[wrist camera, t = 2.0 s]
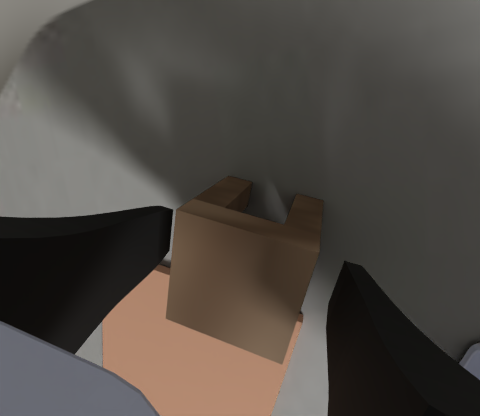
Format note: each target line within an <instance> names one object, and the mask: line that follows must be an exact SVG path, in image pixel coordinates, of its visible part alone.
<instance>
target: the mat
mask: <svg viewBox="0 0 480 416" xmlns="http://www.w3.org/2000/svg"><path fill="white" fill-rule="evenodd" d="M169 278H170V268H168V267H165V266H162V265H160V264H159V265H158V266H157V267H156V268H155V269H154V270H153V271H152V272H151V273H150V274H149V275H148V276H147V277H146V278H145V279H144V280H143V281H142V282H140V283H139V284H138V285H137V286H136V287H135V288H134V289H133V290H132V291H131V292H130V293H129V294H128V295H127V296H125V297H124V298H123V299H122V300H121V301H120V302H119V303H118V304H117V305H116V306H115V307H114V308H113V309H112V310H111V311H110V312H109V314H108V315H107V316H106V317H105V318H104V319H103V368H105V369H107V370H109V371H112V372H114V373H115V374H117V375H118V376H120V377H121V378H123V379H124V380H126V381H127V382H129V383H130V384H132V385H133V386H135V387H136V388H138V389H139V390H141V392H142V393H143V394H144V395H145V397H146V398H147V399H148V401H149V402H150V403H151V404H152V406H153V407H154V408H155V410H156V411H157V412H158V413H159V414H160V415H162V416H271V414H272V411H273V408H274V405H275V402H276V399H277V396H278V393H279V390H280V387H281V384H282V381H283V378H284V376H285V373H286V370H287V367H288V364H289V361H290V358H291V355H292V352H293V349H294V346H295V343H296V340H297V337H298V335H299V332H300V329H301V326H302V323H303V315H302V314H299V316H298V319H297V322H296V325H295V328H294V331H293V334H292V337H291V340H290V343H289V346H288V349H287V352H286V355H285V358H284V361H283V364H282V365H281V364H279V363H276V362H274V361H271V360H269V359H266V358H264V357H261V356H259V355H256V354H253V353H251V352H248V351H246V350H243V349H241V348H238V347H236V346H233V345H231V344H228V343H226V342H223V341H221V340H218V339H216V338H213V337H210V336H208V335H205V334H203V333H200V332H198V331H195V330H193V329H190V328H188V327H185V326H183V325H180V324H178V323H175V322H173V321H170V320H168V319H166V309H167V299H168V288H169Z"/></svg>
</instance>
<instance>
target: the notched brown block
mask: <svg viewBox="0 0 480 416" xmlns="http://www.w3.org/2000/svg"><path fill="white" fill-rule="evenodd" d="M251 187H252V182H250V181H246V180H243V179H239V178H235V177H231V176H227V177H226V178H224V179H223V180H221V181H220V182H218V183H217V184H215V185H214V186H212V187H210V188H209V189H207V190H206V191H204V192H203V193H201V194H200V195H198V196H197V197H195V198H193V199H192V200H190V201H189V202H187V203H186V204H184V205H183V206H181V207H179V208H178V209H176V217H175V227H174V238H173V248H172V258H171V268H170V278H169V288H168V299H167V309H166V319H168V320H170V321H173V322H175V323H178V324H180V325H183V326H185V327H188V328H190V329H193V330H195V331H198V332H200V333H203V334H205V335H208V336H210V337H213V338H216V339H218V340H221V341H223V342H226V343H228V344H231V345H233V346H236V347H238V348H241V349H243V350H246V351H248V352H251V353H253V354H256V355H259V356H261V357H264V358H266V359H269V360H271V361H274V362H276V363H279V364H281V365H282V364H283V361H284V358H285V355H286V352H287V349H288V346H289V343H290V340H291V337H292V334H293V331H294V328H295V325H296V322H297V319H298V316H299V313H300V310H301V307H302V304H303V301H304V298H305V295H306V292H307V289H308V286H309V283H310V280H311V277H312V273H313V270H314V267H315V264H316V261H317V258H318V255H319V251H320V238H321V226H322V213H323V200H319V199H316V198H312V197H308V196H304V195H300V194H296V197H295V199H294V202H293V204H292V207H291V209H290V212H289V214H288V216H287V219H286V221H285V224H284V225H283V224H280V223H276V222H273V221H269V220H266V219H262V218H259V217H255V216H252V215H248V214H245V213H242V212H243V210H244V209H245V208H246V207H247V206H248V202H249V197H250V192H251Z"/></svg>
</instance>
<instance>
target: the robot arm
mask: <svg viewBox="0 0 480 416" xmlns="http://www.w3.org/2000/svg"><path fill="white" fill-rule="evenodd" d="M172 216H173V209H169V208H166V207H163V206H149V207H142V208H136V209H130V210H123V211H117V212H110V213H103V214H95V215H87V216H76V217H60V218H17V217H0V416H160V415H159V413H158V412H157V411H156V410H155V408H154V407H153V406H152V404H151V403H150V402H149V401H148V399H147V398H146V397H145V395H144V394H143V393H142V392H141V390H139V389H138V388H136V387H135V386H133V385H132V384H130V383H129V382H127V381H126V380H124V379H123V378H121V377H120V376H118V375H117V374H115V373H114V372H112V371H109V370H107V369H105V368H103V367H101V366H98V365H96V364H94V363H92V362H90V361H87V360H85V359H83V358H81V357H79V356H76V355H75V353H76V352H77V351H78V350H79V348H80V347H81V346H82V345H83V343H84V342H85V341H86V340H87V338H88V337H89V336H90V335H91V334H92V332H93V331H94V330H95V329H96V328H97V326H98V325H99V324H100V323H101V322H102V321H103V319H104V318H105V317H106V316H107V315H108V314H109V312H110V311H111V310H112V309H113V308H114V307H115V306H116V305H117V304H118V303H119V302H120V301H121V300H122V299H123V298H124V297H125V296H127V295H128V294H129V293H130V292H131V291H132V290H133V289H134V288H135V287H136V286H137V285H138V284H139V283H140V282H142V281H143V280H144V279H145V278H146V277H147V276H148V275H149V274H150V273H151V272H152V271H153V270H154V269H155V268H156V267H157V266H158V265H159V263H160V262H161V261H162V260H163V258H164V257H165V256H166V254H167V253H168V252H169V249H170V238H171V227H172ZM326 335H327V359H328V381H329V401H328V416H480V343H477V344H474V345H472V346H471V347H470V348H469V349H468V351H467V352H466V354H465V355H464V357H463V358H462V360H461V361H460V363H459V364H458V363H457V362H456V361H455V360H453V359H452V358H451V357H450V356H448V355H447V354H446V353H445V352H444V351H442V350H441V349H440V348H439V347H438V346H436V345H435V344H434V343H433V342H432V341H431V340H430V339H429V338H428V337H427V336H425V335H424V334H423V333H422V332H421V331H420V330H419V329H418V328H417V327H416V326H415V325H414V324H413V323H412V322H411V321H410V320H409V319H408V318H407V317H406V316H405V315H404V314H403V313H402V312H401V311H400V310H399V309H398V308H397V307H396V306H395V304H394V303H393V302H392V301H391V300H390V299H389V298H388V296H387V295H386V294H385V293H384V292H383V291H382V289H381V288H380V287H379V286H378V285H377V283H376V282H375V281H374V280H373V278H372V277H371V276H370V275H369V274H368V272H367V271H366V270H365V269H364V268H363V267H362V266H360V265H357V264H354V263H350V262H347V261H344V264H343V266H342V269H341V272H340V274H339V277H338V280H337V282H336V285H335V288H334V290H333V293H332V296H331V298H330V301H329V304H328V313H327V324H326Z"/></svg>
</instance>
